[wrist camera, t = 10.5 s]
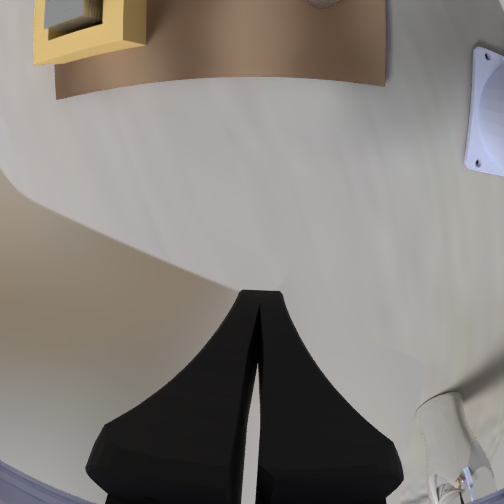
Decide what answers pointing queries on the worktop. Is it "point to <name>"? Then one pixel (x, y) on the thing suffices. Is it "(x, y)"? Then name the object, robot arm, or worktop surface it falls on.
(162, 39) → the stand board
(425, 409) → the beer glass
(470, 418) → the worktop surface
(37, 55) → the collar
